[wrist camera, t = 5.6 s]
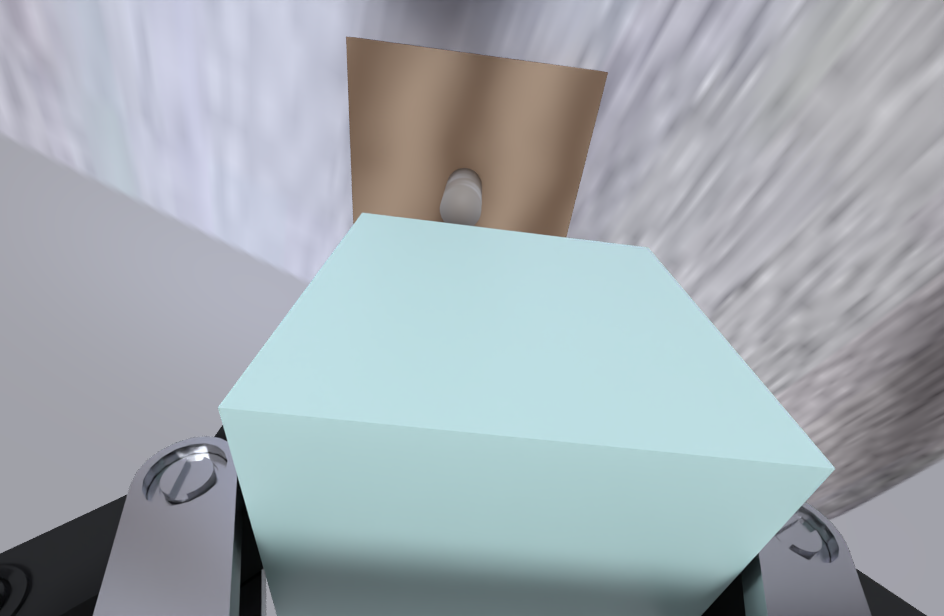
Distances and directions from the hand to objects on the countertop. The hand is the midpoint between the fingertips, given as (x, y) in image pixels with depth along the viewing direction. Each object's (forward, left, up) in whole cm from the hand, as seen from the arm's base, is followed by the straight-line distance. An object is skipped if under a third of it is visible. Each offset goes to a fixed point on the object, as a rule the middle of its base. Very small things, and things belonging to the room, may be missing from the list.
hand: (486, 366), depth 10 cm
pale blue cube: (0, 0, -1) cm, 1 cm away
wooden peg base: (+1, +1, -20) cm, 20 cm away
